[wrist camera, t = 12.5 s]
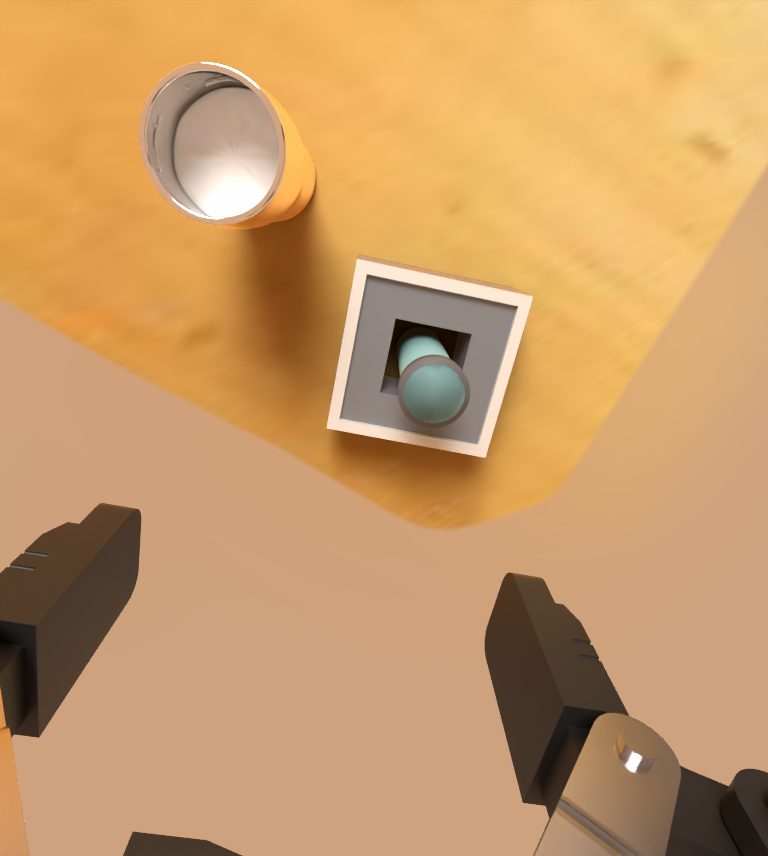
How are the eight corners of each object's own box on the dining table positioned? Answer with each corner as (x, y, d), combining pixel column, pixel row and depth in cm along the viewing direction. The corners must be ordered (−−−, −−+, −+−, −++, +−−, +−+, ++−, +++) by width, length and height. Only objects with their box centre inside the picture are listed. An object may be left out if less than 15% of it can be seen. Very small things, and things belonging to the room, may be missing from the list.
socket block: (513, 288, 41) (533, 296, 36) (473, 431, 45) (485, 457, 40) (359, 254, 40) (357, 259, 35) (332, 404, 44) (326, 428, 39)
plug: (450, 329, 42) (478, 367, 31) (438, 379, 43) (460, 433, 32) (398, 318, 42) (407, 352, 30) (387, 369, 43) (391, 420, 32)
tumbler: (203, 153, 37) (100, 110, 23) (288, 99, 36) (234, 19, 22) (258, 246, 40) (193, 257, 26) (340, 197, 39) (319, 181, 25)
